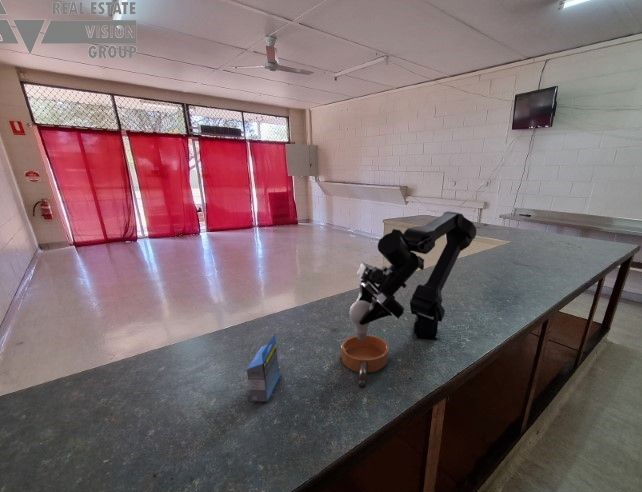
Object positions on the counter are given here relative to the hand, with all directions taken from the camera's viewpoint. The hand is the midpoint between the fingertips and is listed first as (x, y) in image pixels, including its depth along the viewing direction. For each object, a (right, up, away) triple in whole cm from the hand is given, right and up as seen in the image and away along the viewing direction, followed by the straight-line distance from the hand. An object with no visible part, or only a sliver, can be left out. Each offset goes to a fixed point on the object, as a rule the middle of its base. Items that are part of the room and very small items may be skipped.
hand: (356, 318), depth 79 cm
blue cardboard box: (-20, -15, -7) cm, 27 cm away
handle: (+2, -13, -6) cm, 15 cm away
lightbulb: (+1, -6, +3) cm, 7 cm away
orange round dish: (+2, -11, +4) cm, 12 cm away
